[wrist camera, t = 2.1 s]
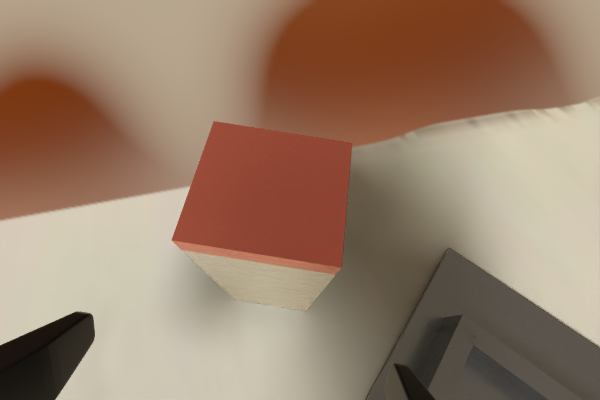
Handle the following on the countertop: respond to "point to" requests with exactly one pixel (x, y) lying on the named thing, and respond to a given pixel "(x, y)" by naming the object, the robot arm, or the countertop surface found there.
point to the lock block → (267, 214)
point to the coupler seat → (490, 343)
